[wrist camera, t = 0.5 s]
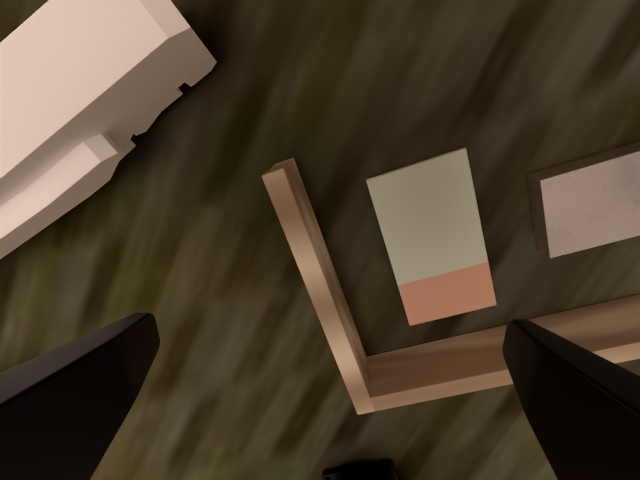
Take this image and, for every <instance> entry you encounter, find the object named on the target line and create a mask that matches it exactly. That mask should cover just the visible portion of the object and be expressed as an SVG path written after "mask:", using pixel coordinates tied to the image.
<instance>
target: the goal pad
mask: <svg viewBox="0 0 640 480" xmlns="http://www.w3.org/2000/svg"><path fill="white" fill-rule="evenodd" d="M366 182H367V185H368V188H369V192H370V195H371V198H372V202H373V205H374V208H375V212H376V215H377V218H378V222H379V225H380V228H381V232H382V235H383V238H384V242H385V245H386V248H387V252H388V255H389V258H390V262H391V265H392V268H393V272H394V275H395V278H396V282H397V285H398V288H399V292H400V295H401V298H402V302H403V305H404V308H405V312H406V315H407V318H408V322H409V325H410V326H411V325H416V324H420V323H424V322H428V321H432V320H436V319H441V318H445V317H449V316H453V315H457V314H461V313H465V312H470V311H474V310H478V309H482V308H486V307H490V306H494V305H496V299H495V294H494V289H493V284H492V279H491V274H490V269H489V264H488V258H487V253H486V248H485V243H484V238H483V233H482V228H481V222H480V217H479V212H478V207H477V202H476V197H475V192H474V187H473V181H472V176H471V171H470V166H469V161H468V156H467V151H466V148H461V149H458V150H455V151H452V152H449V153H446V154H442V155H439V156H436V157H433V158H430V159H427V160H424V161H421V162H418V163H415V164H412V165H409V166H405V167H402V168H399V169H396V170H393V171H390V172H387V173H384V174H381V175H378V176H375V177H372V178H368V179H366Z"/></svg>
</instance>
